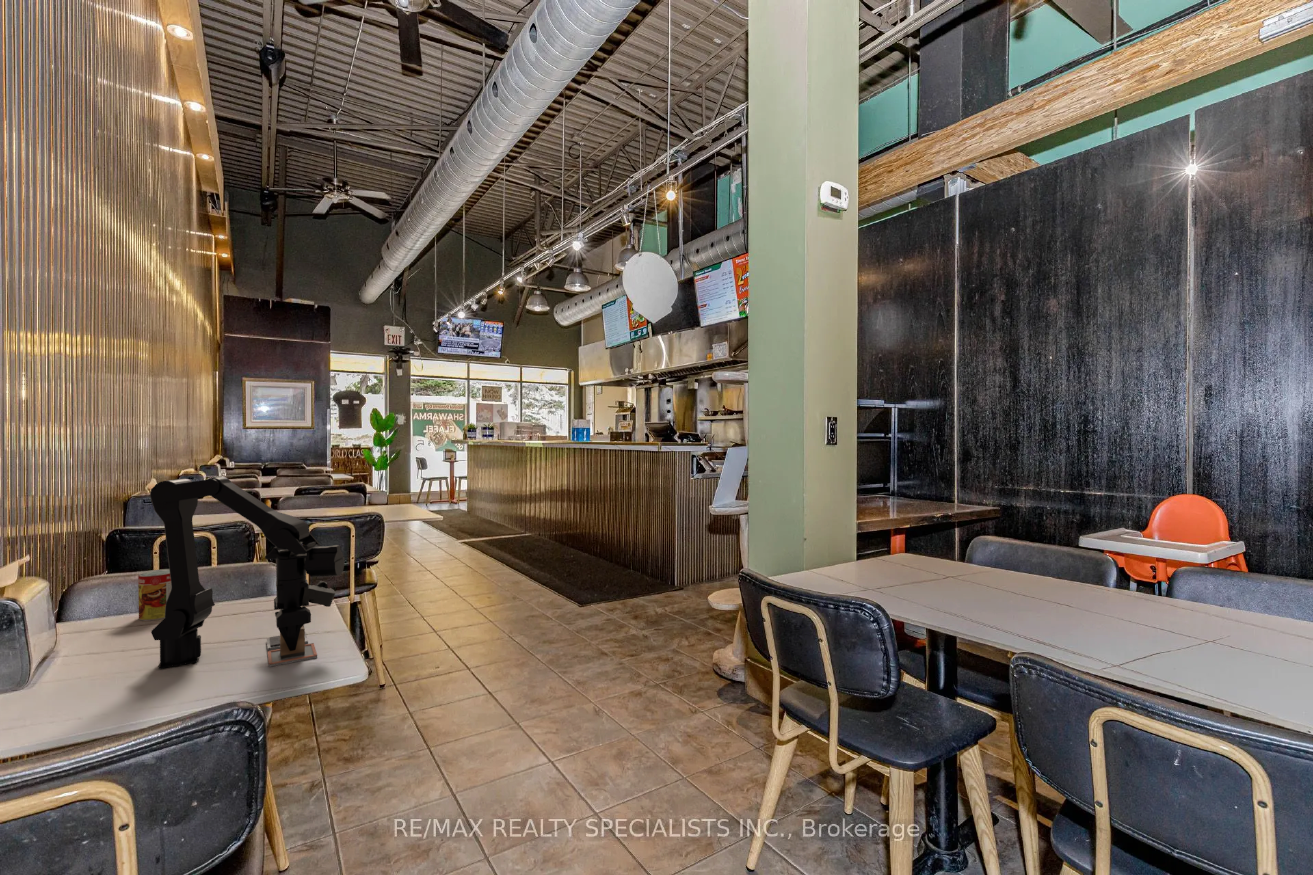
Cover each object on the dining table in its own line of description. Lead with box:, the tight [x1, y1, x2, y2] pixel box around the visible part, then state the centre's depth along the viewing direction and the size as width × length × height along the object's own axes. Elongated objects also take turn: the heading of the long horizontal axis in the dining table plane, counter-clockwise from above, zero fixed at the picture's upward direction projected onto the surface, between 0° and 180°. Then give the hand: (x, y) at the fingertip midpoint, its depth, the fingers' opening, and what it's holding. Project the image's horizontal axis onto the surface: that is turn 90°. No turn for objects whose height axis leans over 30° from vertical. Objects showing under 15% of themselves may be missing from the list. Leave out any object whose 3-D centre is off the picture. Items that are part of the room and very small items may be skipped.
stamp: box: [279, 624, 306, 659], centre depth 134 cm, size 4×4×6 cm
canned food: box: [137, 568, 171, 622], centre depth 163 cm, size 8×8×12 cm
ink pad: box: [266, 631, 309, 652], centre depth 142 cm, size 8×8×1 cm
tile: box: [267, 642, 318, 667], centre depth 134 cm, size 9×9×1 cm
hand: (291, 647), depth 134 cm, fingers closed on stamp, 4 cm apart
